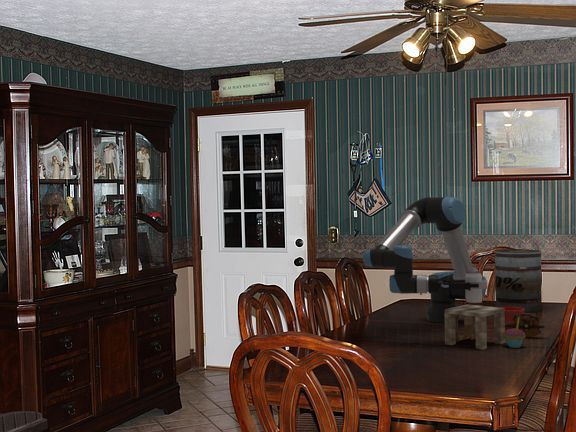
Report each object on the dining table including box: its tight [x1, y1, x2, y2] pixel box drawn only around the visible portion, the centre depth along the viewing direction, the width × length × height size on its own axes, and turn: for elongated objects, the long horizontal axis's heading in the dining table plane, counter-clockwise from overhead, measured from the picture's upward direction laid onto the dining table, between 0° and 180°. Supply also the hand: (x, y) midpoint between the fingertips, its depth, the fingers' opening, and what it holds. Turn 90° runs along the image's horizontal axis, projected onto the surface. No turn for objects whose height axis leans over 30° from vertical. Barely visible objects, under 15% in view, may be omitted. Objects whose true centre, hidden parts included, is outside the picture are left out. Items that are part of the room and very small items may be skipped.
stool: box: [444, 304, 506, 350], centre depth 314 cm, size 17×17×14 cm
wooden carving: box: [505, 313, 546, 338], centre depth 325 cm, size 16×5×10 cm, turn 70°
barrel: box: [494, 248, 543, 314], centre depth 399 cm, size 22×22×30 cm
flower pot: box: [500, 307, 524, 331], centre depth 342 cm, size 11×11×10 cm
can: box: [465, 271, 483, 304], centre depth 314 cm, size 6×6×12 cm
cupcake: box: [503, 316, 526, 349], centre depth 307 cm, size 9×8×12 cm
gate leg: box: [455, 314, 476, 343], centre depth 321 cm, size 13×4×12 cm, turn 131°
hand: (486, 284), depth 313 cm, fingers closed on can, 6 cm apart
